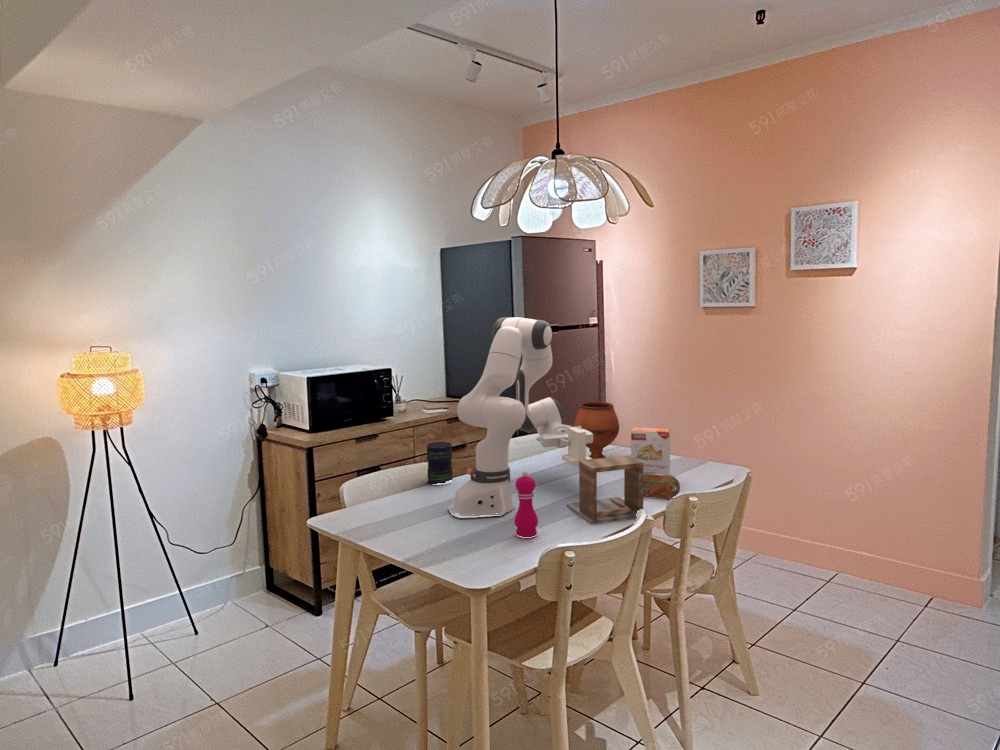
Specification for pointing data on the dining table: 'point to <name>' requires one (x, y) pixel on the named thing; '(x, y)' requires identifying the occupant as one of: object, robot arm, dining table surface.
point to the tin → (660, 486)
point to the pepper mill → (525, 507)
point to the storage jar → (439, 462)
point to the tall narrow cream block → (576, 446)
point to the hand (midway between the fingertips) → (574, 443)
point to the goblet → (598, 425)
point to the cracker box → (651, 449)
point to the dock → (609, 507)
